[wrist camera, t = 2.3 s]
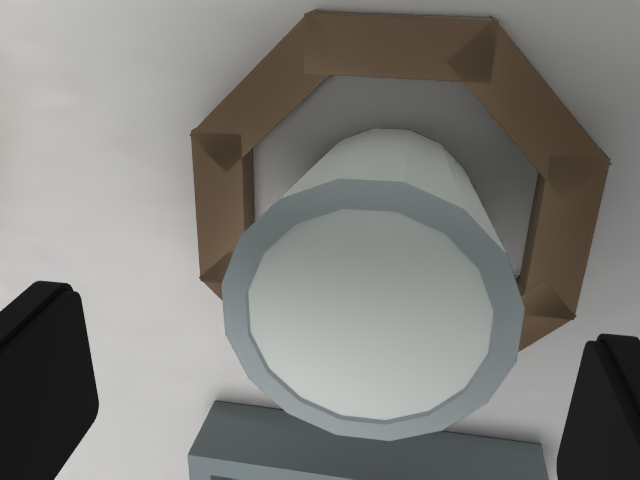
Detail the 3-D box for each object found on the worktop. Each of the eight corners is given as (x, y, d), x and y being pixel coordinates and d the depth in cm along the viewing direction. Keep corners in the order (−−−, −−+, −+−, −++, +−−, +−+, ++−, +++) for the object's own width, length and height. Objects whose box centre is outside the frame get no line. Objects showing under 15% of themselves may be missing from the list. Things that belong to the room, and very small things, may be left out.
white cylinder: (542, 192, 19) (597, 305, 13) (408, 337, 22) (397, 488, 15) (361, 61, 18) (324, 111, 12) (248, 229, 21) (169, 341, 15)
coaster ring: (629, 20, 16) (643, 24, 15) (548, 388, 22) (554, 410, 20) (195, 4, 18) (180, 7, 17) (215, 348, 23) (204, 366, 22)
